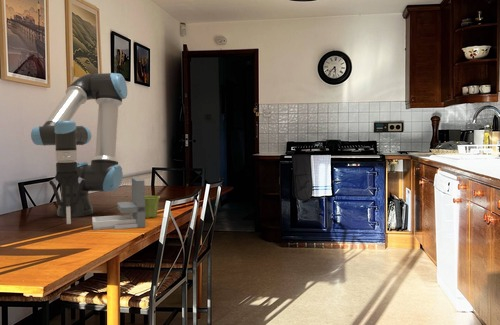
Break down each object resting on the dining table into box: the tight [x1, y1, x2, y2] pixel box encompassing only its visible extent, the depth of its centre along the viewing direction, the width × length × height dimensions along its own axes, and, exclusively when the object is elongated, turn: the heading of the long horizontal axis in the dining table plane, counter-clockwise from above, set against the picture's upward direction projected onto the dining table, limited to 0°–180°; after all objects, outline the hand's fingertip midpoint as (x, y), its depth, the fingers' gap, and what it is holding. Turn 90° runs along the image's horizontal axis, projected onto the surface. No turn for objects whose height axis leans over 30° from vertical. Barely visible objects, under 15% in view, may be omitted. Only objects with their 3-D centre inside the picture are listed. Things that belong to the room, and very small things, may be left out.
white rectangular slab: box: [91, 214, 137, 231], centre depth 195 cm, size 12×16×3 cm
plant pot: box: [145, 195, 161, 219], centre depth 214 cm, size 9×9×9 cm
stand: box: [113, 176, 147, 230], centre depth 196 cm, size 16×12×18 cm
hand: (68, 223), depth 190 cm, fingers closed
